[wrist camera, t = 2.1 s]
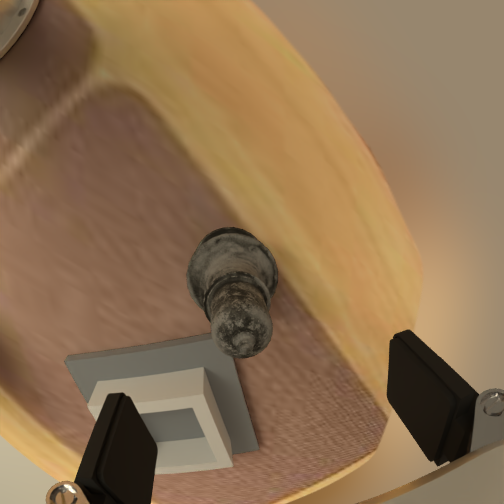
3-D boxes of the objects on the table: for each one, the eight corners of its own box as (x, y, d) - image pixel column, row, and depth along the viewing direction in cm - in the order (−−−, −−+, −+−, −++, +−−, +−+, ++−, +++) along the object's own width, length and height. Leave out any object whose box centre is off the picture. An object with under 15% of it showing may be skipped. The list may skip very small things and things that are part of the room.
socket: (67, 355, 24) (49, 384, 20) (225, 329, 25) (229, 361, 21) (129, 457, 28) (124, 487, 24) (258, 443, 29) (264, 474, 25)
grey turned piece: (273, 226, 23) (331, 288, 12) (263, 300, 25) (302, 404, 13) (193, 219, 22) (172, 278, 11) (188, 295, 24) (172, 402, 12)
